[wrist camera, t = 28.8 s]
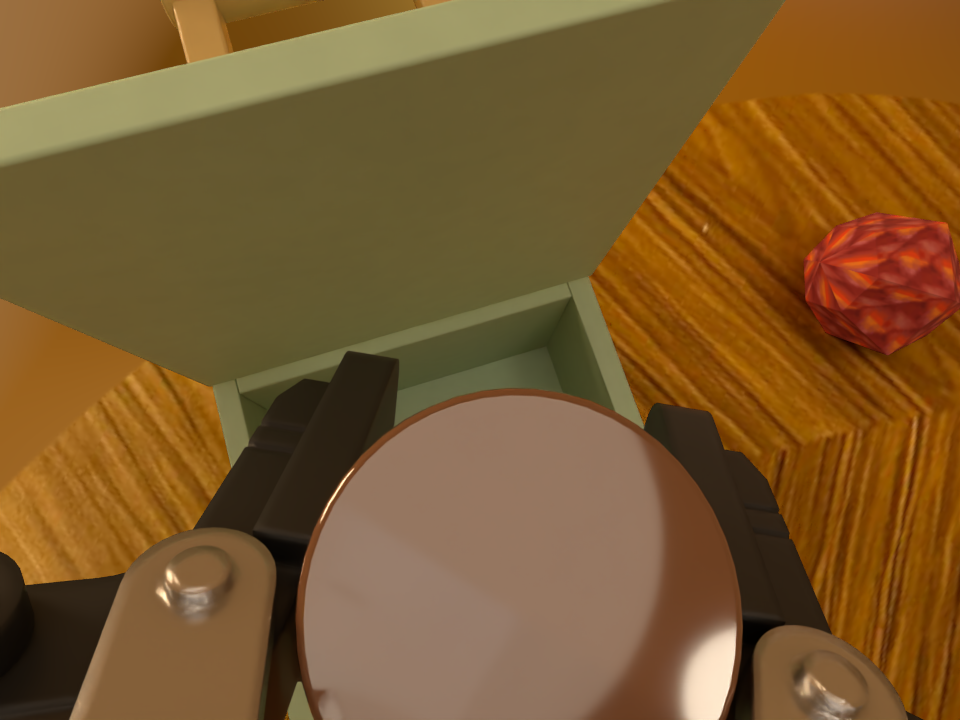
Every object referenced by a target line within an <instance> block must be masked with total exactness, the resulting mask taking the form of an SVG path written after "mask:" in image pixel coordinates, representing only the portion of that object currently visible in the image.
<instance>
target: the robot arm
mask: <svg viewBox="0 0 960 720" xmlns="http://www.w3.org/2000/svg"><path fill="white" fill-rule="evenodd" d="M398 380H399V359H396V358H390V357H384V356H378V355H372V354H367V353H361V352H355V351H347V352H346V353H345V355H344V357H343V359H342V360H341V362H340V364H339V366H338V368H337V370H336V372H335V374H334V376H333V378H332V380H331V381H330V383H329V382H323V381H317V380H311V379H305V378H304V379H303V380H301V381H300V382H298V383H297V384H295V385H294V386H292V387H291V388H289V389H287V390H286V391H284V392H283V393H281V394H280V395H278V396H277V397H276V399H275V400H274V402H273V403H272V405H271V407H270V408H269V410H268V411H267V413H266V415H265V416H264V418H263V419H262V422H261V426H258V427H257V429H256V430H255V432H254V434H253V435H252V437H251V438H250V440H249V444H248V447H245V448H244V449H243V451H242V453H241V454H240V456H239V457H238V459H237V461H236V462H235V464H234V465H233V467H232V469H231V470H230V472H229V473H228V475H227V477H226V478H225V480H224V481H223V483H222V484H221V486H220V488H219V489H218V491H217V492H216V494H215V496H214V497H213V499H212V500H211V502H210V504H209V505H208V507H207V508H206V510H205V511H204V513H203V515H202V516H201V518H200V519H199V521H198V523H197V524H196V526H195V527H194V529H193V530H189V531H185V532H182V533H179V534H175V535H173V536H171V537H169V538H166V539H164V540H162V541H160V542H159V543H157V544H155V545H153V546H152V547H150V548H149V549H148V550H147V551H145V552H144V553H143V554H141V555H140V556H139V557H138V558H137V559H136V560H135V561H134V562H133V563H132V565H131V566H130V568H129V569H128V570H127V572H126V573H122V574H118V575H114V576H108V577H101V578H93V579H83V580H73V581H63V582H53V583H43V584H33V585H25V583H24V580H23V577H22V573H21V570H20V568H19V566H18V565H17V564H16V562H15V561H14V560H13V559H12V558H10V557H9V556H8V555H6V554H4V553H2V552H0V720H284V719H285V716H286V713H287V710H288V708H289V705H290V702H291V699H292V696H293V693H294V690H295V688H296V685H297V682H301V676H300V670H299V664H298V659H297V653H296V636H295V610H296V597H297V587H298V582H299V577H300V572H301V567H302V563H303V558H304V555H305V552H306V549H307V546H308V543H309V540H310V537H311V534H312V531H313V528H314V526H315V524H316V522H317V520H318V518H319V516H320V514H321V512H322V510H323V508H324V506H325V504H326V501H327V500H328V498H329V497H330V495H331V494H332V492H333V491H334V489H335V488H336V486H337V485H338V483H339V481H340V480H341V478H342V477H343V476H344V474H345V473H346V472H347V471H348V470H349V469H350V467H351V466H352V465H353V464H354V463H355V461H356V460H357V459H358V458H359V457H360V456H361V454H362V453H364V452H365V451H366V450H367V449H368V448H369V447H370V446H371V445H372V444H373V443H374V442H376V441H377V440H378V439H379V438H380V437H381V436H382V435H383V434H385V433H386V432H388V431H389V430H390V429H392V428H393V427H394V423H395V412H396V401H397V391H398ZM643 430H645V431H646V432H647V433H649V434H650V435H651V436H653V437H654V438H655V439H656V440H658V441H659V442H660V443H661V444H662V445H663V446H664V447H665V448H666V449H667V450H668V451H669V452H670V453H671V454H672V455H673V456H674V457H675V458H676V459H677V460H678V461H679V462H680V463H681V464H682V465H683V466H684V468H685V469H686V470H687V472H688V473H689V474H690V475H691V477H692V478H693V479H694V480H695V482H696V483H697V484H698V486H699V487H700V489H701V490H702V492H703V494H704V495H705V497H706V499H707V500H708V502H709V504H710V505H711V507H712V508H713V510H714V512H715V515H716V517H717V519H718V521H719V523H720V525H721V528H722V530H723V532H724V534H725V536H726V539H727V542H728V546H729V549H730V552H731V555H732V558H733V561H734V564H735V569H736V574H737V579H738V584H739V590H740V595H741V608H742V622H743V633H742V652H741V662H740V667H739V673H738V679H737V684H736V689H735V693H734V696H733V699H732V702H731V705H730V709H729V712H728V715H727V718H726V720H923V719H921V718H919V717H917V716H915V715H913V714H911V713H909V712H907V711H905V708H904V705H903V703H902V701H901V699H900V697H899V695H898V693H897V692H896V690H895V689H894V687H893V686H892V684H891V683H890V681H889V680H888V679H887V678H886V676H885V675H884V674H883V673H882V672H881V670H880V669H879V668H878V667H877V666H876V665H875V664H874V663H873V662H871V661H870V660H869V659H868V658H867V657H866V656H865V655H863V654H862V653H861V652H860V651H858V650H857V649H855V648H854V647H852V646H851V645H849V644H848V643H846V642H845V641H843V640H841V639H839V638H837V637H835V636H834V635H832V633H831V631H830V628H829V626H828V624H827V621H826V619H825V617H824V614H823V612H822V609H821V607H820V605H819V602H818V600H817V598H816V595H815V593H814V590H813V588H812V586H811V583H810V581H809V579H808V576H807V574H806V571H805V569H804V567H803V564H802V562H801V560H800V557H799V555H798V552H797V550H796V548H795V545H794V543H793V541H792V540H791V539H789V531H788V529H787V526H786V524H785V521H784V519H783V517H782V515H781V514H779V513H778V511H779V507H778V505H777V502H776V500H775V498H774V495H773V493H772V491H771V488H770V486H769V483H768V481H767V479H766V478H765V477H764V476H763V475H762V474H761V473H760V472H759V471H758V470H757V468H756V467H755V466H754V465H753V464H752V463H751V462H750V461H749V460H748V459H747V458H746V457H745V455H744V454H743V453H741V452H735V451H729V450H724V448H723V445H722V442H721V439H720V436H719V434H718V431H717V428H716V425H715V423H714V420H713V417H712V415H711V414H710V413H709V412H708V411H702V410H696V409H690V408H684V407H679V406H673V405H667V404H661V403H656V404H654V405H653V407H652V408H651V410H650V412H649V415H648V417H647V420H646V423H645V426H644V429H643Z"/></svg>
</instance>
